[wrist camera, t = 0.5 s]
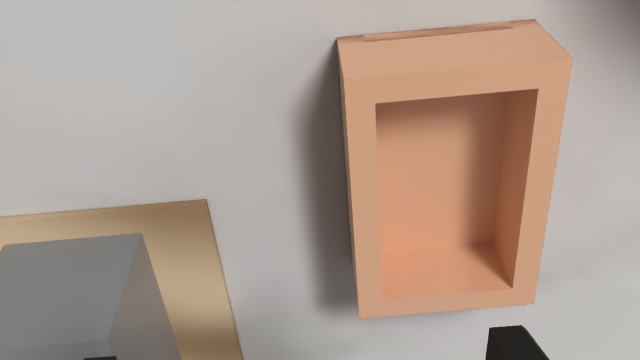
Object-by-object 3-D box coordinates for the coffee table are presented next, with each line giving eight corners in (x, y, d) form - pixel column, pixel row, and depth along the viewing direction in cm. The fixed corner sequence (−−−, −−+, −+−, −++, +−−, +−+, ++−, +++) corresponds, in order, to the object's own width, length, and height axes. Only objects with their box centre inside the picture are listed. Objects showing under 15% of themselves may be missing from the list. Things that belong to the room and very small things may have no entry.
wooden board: (254, 408, 28) (254, 414, 28) (41, 426, 28) (39, 432, 28) (206, 199, 22) (205, 204, 21) (-73, 224, 22) (-77, 229, 21)
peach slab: (507, 247, 23) (533, 304, 21) (352, 261, 23) (359, 319, 21) (534, 19, 18) (573, 57, 16) (336, 37, 18) (343, 78, 16)
